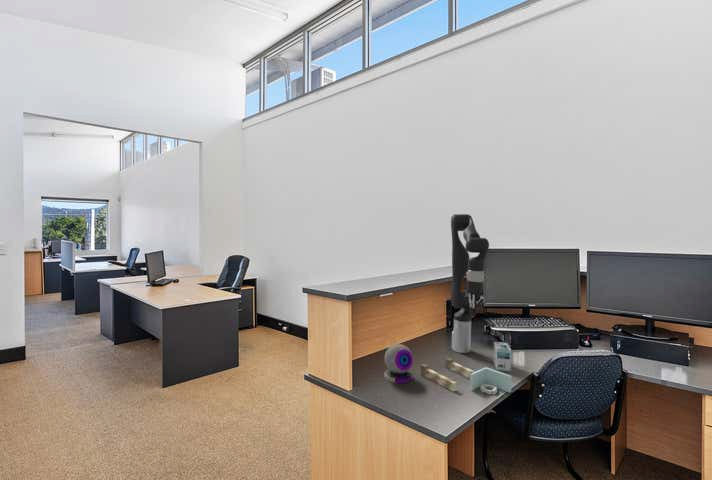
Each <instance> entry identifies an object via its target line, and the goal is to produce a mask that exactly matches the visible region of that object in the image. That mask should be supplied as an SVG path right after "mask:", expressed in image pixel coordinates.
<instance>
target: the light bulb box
mask: <svg viewBox="0 0 712 480" xmlns="http://www.w3.org/2000/svg"><path fill="white" fill-rule="evenodd" d="M493 364H494V367H495V369H496V371H503V372H504V371H505V372H512V348H511V347H510V345H509V344H508V342H502V341H501V342H500V341H493Z"/></svg>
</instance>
